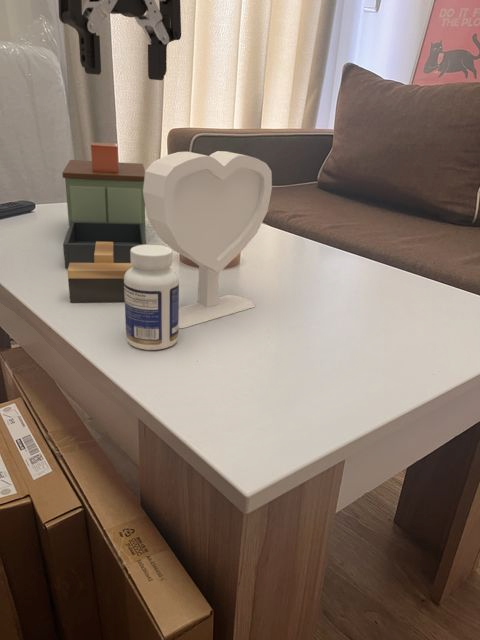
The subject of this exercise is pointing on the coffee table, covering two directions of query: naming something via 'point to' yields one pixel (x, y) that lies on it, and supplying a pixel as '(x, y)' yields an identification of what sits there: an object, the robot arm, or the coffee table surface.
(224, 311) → the heart sculpture
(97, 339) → the coffee table surface
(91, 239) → the tray
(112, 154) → the block
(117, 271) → the brush
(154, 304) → the pill bottle
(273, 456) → the coffee table surface
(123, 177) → the cabinet
